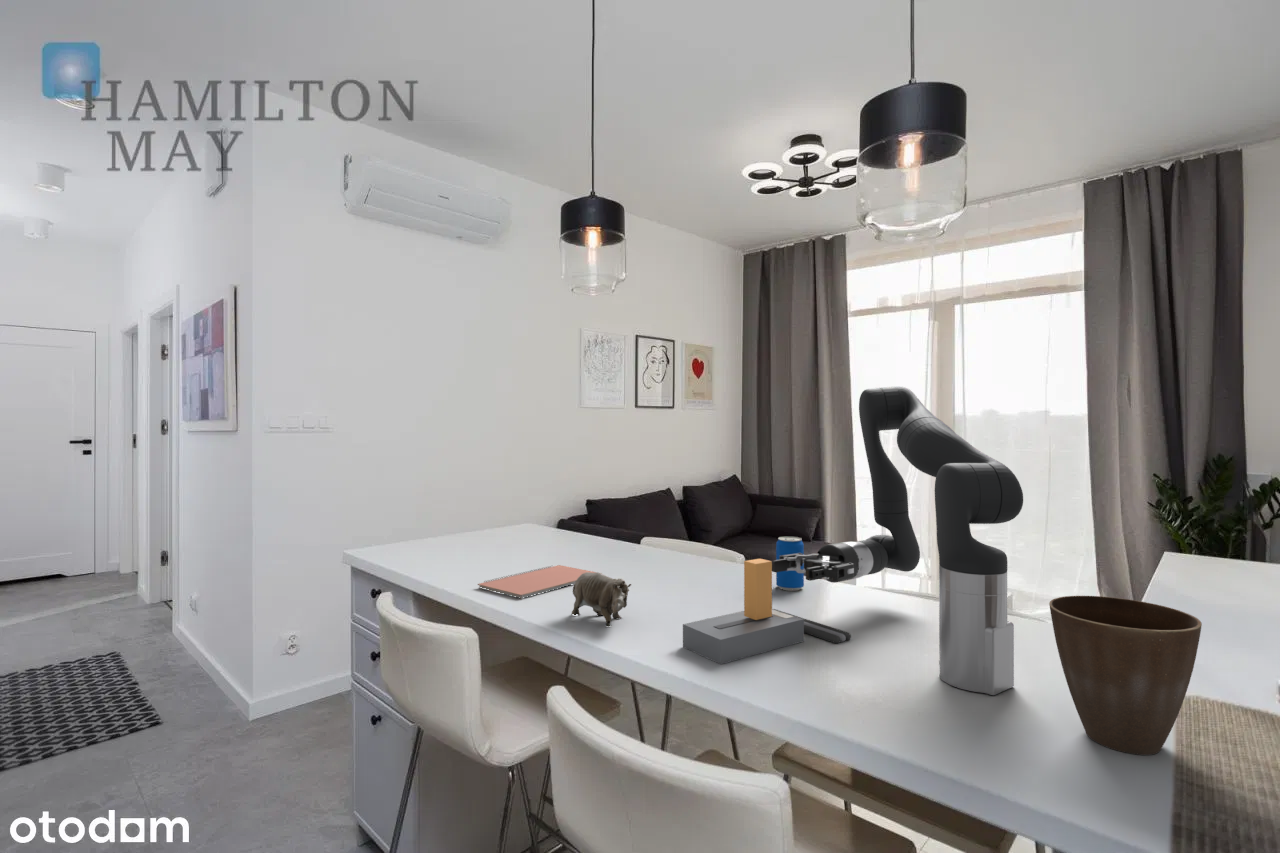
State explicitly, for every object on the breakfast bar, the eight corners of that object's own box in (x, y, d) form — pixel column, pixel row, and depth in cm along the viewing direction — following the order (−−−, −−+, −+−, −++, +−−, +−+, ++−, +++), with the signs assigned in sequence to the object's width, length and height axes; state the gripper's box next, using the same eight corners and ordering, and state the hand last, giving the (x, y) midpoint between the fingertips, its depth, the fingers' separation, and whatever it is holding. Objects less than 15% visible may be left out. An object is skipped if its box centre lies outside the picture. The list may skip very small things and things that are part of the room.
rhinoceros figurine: (591, 594, 138) (611, 544, 131) (625, 643, 130) (649, 593, 122) (560, 603, 133) (580, 552, 126) (594, 655, 125) (617, 604, 117)
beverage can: (801, 585, 156) (801, 536, 156) (805, 591, 150) (805, 541, 150) (774, 584, 157) (774, 536, 157) (777, 591, 150) (777, 540, 150)
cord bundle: (852, 640, 115) (852, 632, 115) (816, 651, 110) (816, 643, 110) (774, 614, 131) (774, 607, 131) (738, 622, 126) (738, 615, 126)
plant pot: (1179, 788, 68) (1179, 639, 68) (1028, 734, 80) (1028, 607, 80) (1218, 747, 76) (1217, 614, 77) (1076, 703, 89) (1076, 589, 89)
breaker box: (803, 641, 115) (803, 618, 115) (720, 664, 103) (720, 639, 104) (763, 626, 123) (763, 605, 123) (682, 646, 112) (682, 623, 112)
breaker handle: (771, 616, 115) (771, 561, 115) (756, 620, 113) (755, 563, 113) (760, 612, 118) (760, 558, 118) (744, 616, 115) (744, 561, 115)
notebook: (556, 570, 174) (556, 563, 174) (602, 579, 164) (602, 572, 164) (474, 590, 153) (474, 582, 153) (520, 602, 143) (520, 593, 143)
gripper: (816, 537, 134) (762, 545, 125) (875, 547, 123) (819, 556, 114) (817, 573, 134) (762, 583, 125) (875, 586, 123) (819, 598, 113)
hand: (789, 570), depth 119 cm, fingers open, 8 cm apart
